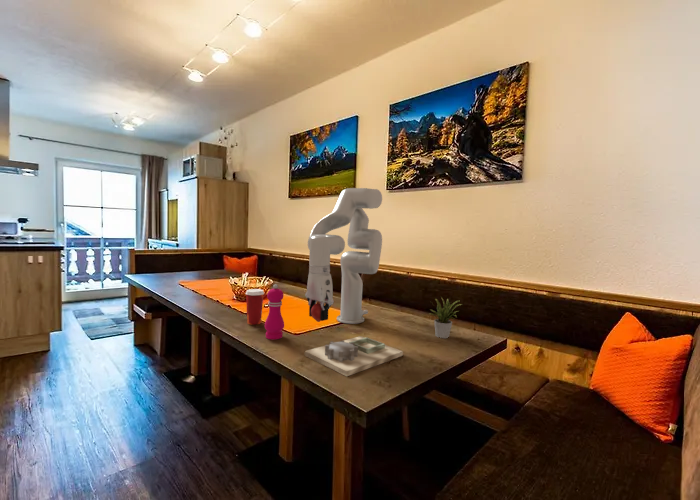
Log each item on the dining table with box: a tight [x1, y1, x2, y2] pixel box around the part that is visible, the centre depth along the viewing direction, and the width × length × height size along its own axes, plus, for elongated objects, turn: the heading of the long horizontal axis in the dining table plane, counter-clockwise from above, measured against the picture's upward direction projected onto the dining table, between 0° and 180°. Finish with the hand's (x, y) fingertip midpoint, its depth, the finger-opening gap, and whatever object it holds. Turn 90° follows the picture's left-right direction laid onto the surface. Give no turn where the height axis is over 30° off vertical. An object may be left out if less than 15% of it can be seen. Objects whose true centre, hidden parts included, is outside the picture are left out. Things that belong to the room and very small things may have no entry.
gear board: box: [304, 335, 404, 377], centre depth 114 cm, size 26×20×4 cm
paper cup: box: [245, 288, 265, 326], centre depth 146 cm, size 8×8×14 cm
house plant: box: [429, 296, 463, 339], centre depth 138 cm, size 14×14×16 cm
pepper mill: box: [264, 283, 285, 340], centre depth 129 cm, size 7×7×20 cm
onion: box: [311, 301, 322, 323], centre depth 127 cm, size 6×6×8 cm
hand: (318, 317), depth 127 cm, fingers closed on onion, 5 cm apart
